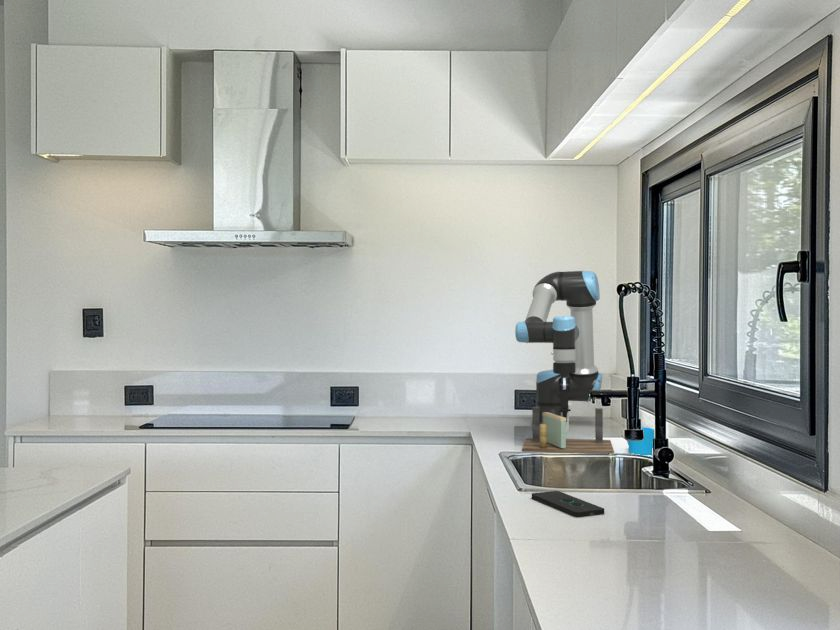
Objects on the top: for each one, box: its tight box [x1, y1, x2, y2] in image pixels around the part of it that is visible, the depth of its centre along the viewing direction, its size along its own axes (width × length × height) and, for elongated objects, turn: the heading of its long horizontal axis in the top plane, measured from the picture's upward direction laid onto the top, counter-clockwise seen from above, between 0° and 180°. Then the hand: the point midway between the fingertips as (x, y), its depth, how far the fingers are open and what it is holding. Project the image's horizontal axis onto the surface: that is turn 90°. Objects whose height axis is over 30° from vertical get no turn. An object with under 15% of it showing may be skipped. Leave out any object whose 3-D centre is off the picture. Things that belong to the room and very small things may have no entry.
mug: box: [626, 426, 655, 456], centre depth 249 cm, size 12×8×8 cm
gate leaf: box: [542, 412, 567, 448], centre depth 258 cm, size 2×18×10 cm, turn 12°
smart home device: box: [531, 490, 605, 518], centre depth 180 cm, size 8×2×20 cm
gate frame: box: [521, 406, 615, 454], centre depth 261 cm, size 23×30×13 cm
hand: (564, 430), depth 255 cm, fingers closed
